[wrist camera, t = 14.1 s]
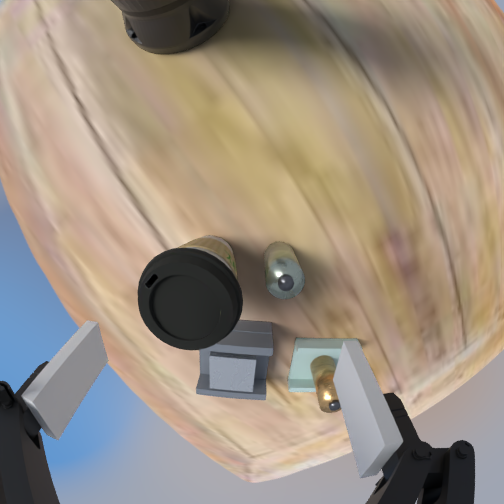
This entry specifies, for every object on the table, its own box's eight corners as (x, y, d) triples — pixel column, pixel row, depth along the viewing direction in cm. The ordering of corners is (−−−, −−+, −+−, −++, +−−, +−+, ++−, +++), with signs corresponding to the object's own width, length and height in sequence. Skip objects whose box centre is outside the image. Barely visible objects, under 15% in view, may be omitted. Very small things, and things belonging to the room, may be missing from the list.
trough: (296, 337, 40) (298, 348, 37) (356, 338, 40) (362, 348, 38) (287, 380, 43) (288, 391, 40) (343, 380, 43) (347, 390, 40)
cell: (312, 355, 40) (324, 397, 31) (336, 355, 40) (352, 396, 31) (307, 374, 41) (317, 417, 32) (331, 373, 41) (345, 415, 32)
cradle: (202, 316, 39) (194, 340, 33) (271, 322, 40) (273, 347, 33) (203, 368, 42) (196, 394, 36) (264, 373, 42) (265, 400, 36)
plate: (211, 349, 35) (209, 355, 34) (256, 353, 35) (256, 360, 34) (211, 381, 37) (209, 388, 35) (252, 385, 37) (252, 392, 35)
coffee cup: (214, 304, 39) (192, 372, 24) (162, 258, 37) (112, 305, 23) (263, 257, 37) (266, 311, 22) (208, 206, 35) (175, 228, 21)
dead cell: (265, 240, 36) (268, 263, 27) (295, 242, 36) (308, 266, 27) (262, 269, 37) (264, 300, 28) (292, 271, 37) (302, 303, 28)
